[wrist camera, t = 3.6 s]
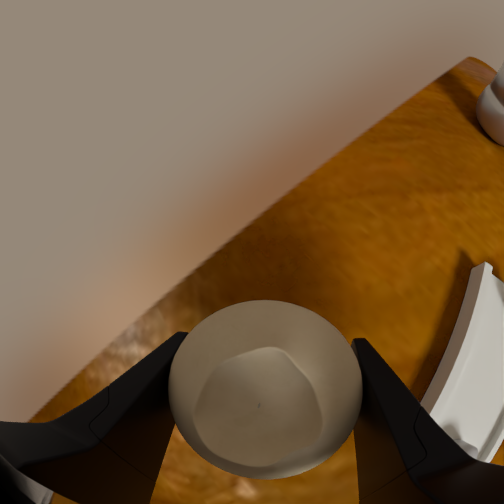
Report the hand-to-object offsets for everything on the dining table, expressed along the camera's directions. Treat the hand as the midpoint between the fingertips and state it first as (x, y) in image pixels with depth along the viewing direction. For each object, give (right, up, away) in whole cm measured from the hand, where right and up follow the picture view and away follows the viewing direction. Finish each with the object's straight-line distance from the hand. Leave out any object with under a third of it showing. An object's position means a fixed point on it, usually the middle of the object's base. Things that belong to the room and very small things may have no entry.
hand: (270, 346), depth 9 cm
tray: (+15, -6, +3) cm, 17 cm away
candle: (+1, -3, +6) cm, 7 cm away
